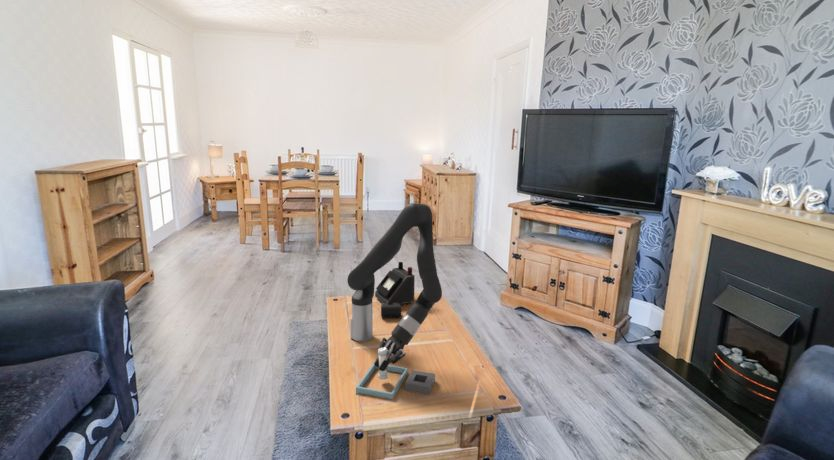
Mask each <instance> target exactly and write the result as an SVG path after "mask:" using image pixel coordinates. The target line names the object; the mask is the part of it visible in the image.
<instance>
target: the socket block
mask: <svg viewBox="0 0 834 460" xmlns="http://www.w3.org/2000/svg"><path fill="white" fill-rule="evenodd" d="M435 382H436V373H431V372H425V371H419V370H413V369H412V370H411V372H410V374H409V375H408V377H407V378H406V381H405V383H404V391H406V392H411V393H416V394H417V393H418V394H422V395H427V396H428V395H430V393H431V390H432V388H433V387H434V385H435Z"/></svg>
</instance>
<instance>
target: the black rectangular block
mask: <svg viewBox="0 0 834 460" xmlns="http://www.w3.org/2000/svg"><path fill="white" fill-rule="evenodd" d="M401 316H402V304H399V303H393V305H388V303H382V302H381V305H380V318H382V319H390V318H393V319H394V318H400V317H401Z"/></svg>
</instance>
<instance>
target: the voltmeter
mask: <svg viewBox="0 0 834 460" xmlns="http://www.w3.org/2000/svg"><path fill="white" fill-rule="evenodd" d="M415 281H416V280H415V274H413V268H412V266H409V267H407V269H405V268H404V262H402V261H399V262H398V265H397V267H393V268H392V270H389V271H388V272H387V273H386V275H385V276H384V277H383V279H382V280H381V281H380V283H379V284H378V285H377V286H376V288H375V291H374V297H375V298H376V299H377V300H378V301H380V302H381V304H382V303H388V305H393V303H399V305H403V304H411V303H413V302H415Z"/></svg>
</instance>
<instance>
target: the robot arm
mask: <svg viewBox="0 0 834 460" xmlns="http://www.w3.org/2000/svg"><path fill="white" fill-rule="evenodd" d="M412 228H418V233H419V245H418V248H417V252H416V253H417V254H416V263H417V269H418V275H419V277H420V280H421V284H422V287H423V288H422V290H421V292H420V293H419V295H418V297H416V299H415V300H414V303H413V304H412V305H411V306H410V308H409V309H408V310H407V312H406V313H405V314H404V315H403V316H402V318H401V319H400V320H399V322H398V323H397V324H396V326H395V327H394V328H393V330H392V331H391V332H390V333H391V336H389V338H386V337H382V339H381V343H380V345H379V347H378V349H379V348H387V349H388V354H387V357H386V359H385V360H384V361H383V362H382V364H381V365H380V366H379V356H378V357H377V358H376V359H375V360H374V362H373V363H374V365H375V366H377V367H379V369H380V370H381V371H384V370H385V369H386V367H387V366H388V365H395V364H396V363H398V362H399V361H400V360H401V359H403V358H404V357H405V356H406V353H405V352H404V348H405V346H408V345H409V343H410V342H411V340H413V338H414V336H415V335H416V334H417V333H418V331H419V329H420V327H421V325H422V324H423V322H425V320H426V319H427V317H428V315H429V312H430V310H432V308H433V306H434V305H435V304H436V303H438V302H439V301H440V300H441V299H442V296H443V291H442V289H443V288H442V285H441V282H440V279H439V276H438V270H437V265H436V258H435V254H434V253H435V252H434V232H433V231H434V230H433V213H432V209H431V207H430V206H429V205H427V204H424V203H418V202H417V203H414V202H412V203H409V204H407V205H406V206H404V207H403V209H402V210H401V212H400V213H399V215H397V218H396V219H395V221H394V222H393V224H392V225H391V226H390V227H389V228H388V230H387V231H386V232H385V233H384V235H383V236H381V238H380V239H378V241H377V242H376V243H375V244H374V246H373V247H372V248H371V250H370V251H369V252H368V253H367V254H366V256H365V257H364V259H363V260H362V261H361V262H360V263H359V264H358V265H356V267H354V268H353V269H352V270H351V271H350V272H349V273H348V275H347V285H348V287H349V289H351V290H353V291H354V293H353V295H352V296H351V318H350V321H349V322H350V323H349V324H350V325H349V326H350V327H349V328H350V339H353V340H354V341H356V342H361V343H362V342H363V343H364V342H367V341H368V342H369V341H371V340H372V339H373V334H374V333H373V320H374V319H373V298H374V297H375V284H376V283H375V282H376V281H375V280H376V279H375V273H376V272H378V271H379V270H380V269H382V268H384V266H385V265H387V264H388V263H390V261H392V260H393V259H394V258H395V256H396V255H397V254H398V253H399V252H400V250H401V248H402V244H403V243H402V242H403V239H404V237H405V235H406V234H407V233H408V232H409V231H410V230H411V229H412ZM379 369H378V370H379Z"/></svg>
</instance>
